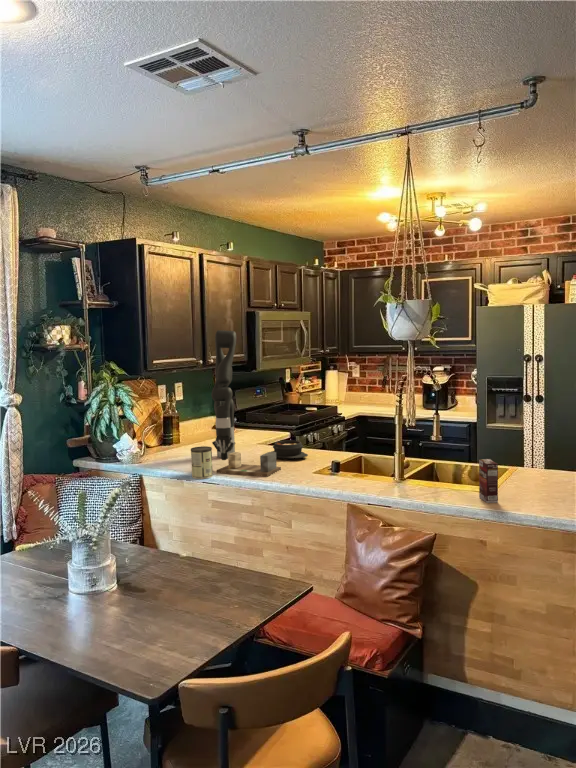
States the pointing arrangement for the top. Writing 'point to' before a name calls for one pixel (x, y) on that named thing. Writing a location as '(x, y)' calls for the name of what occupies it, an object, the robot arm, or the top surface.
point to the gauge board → (255, 467)
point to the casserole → (288, 449)
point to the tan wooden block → (234, 460)
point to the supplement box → (488, 480)
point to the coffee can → (201, 462)
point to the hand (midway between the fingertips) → (224, 459)
